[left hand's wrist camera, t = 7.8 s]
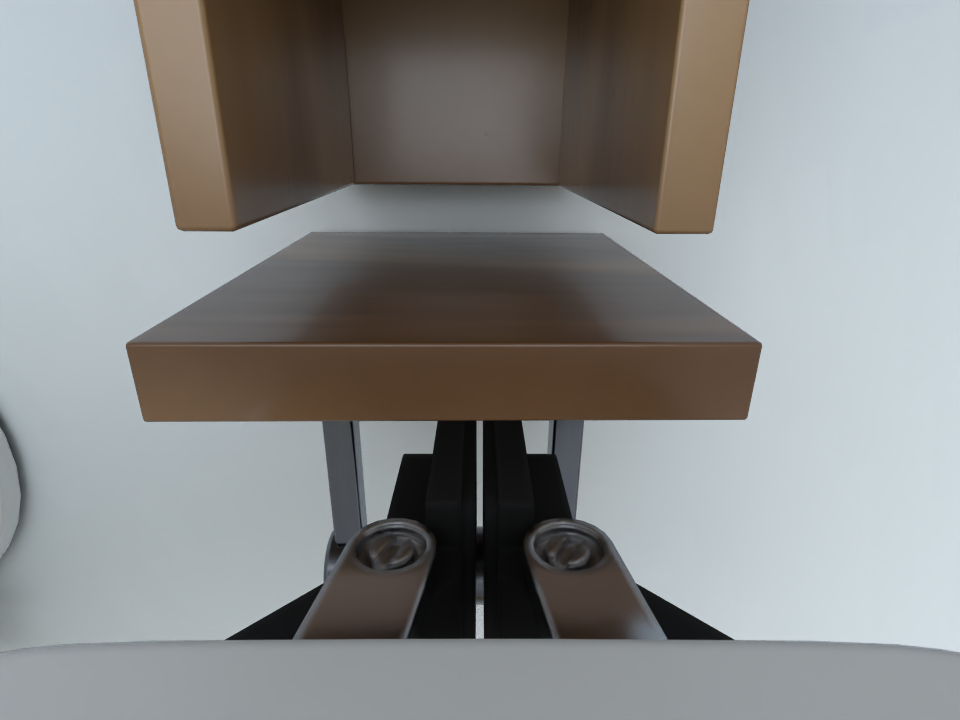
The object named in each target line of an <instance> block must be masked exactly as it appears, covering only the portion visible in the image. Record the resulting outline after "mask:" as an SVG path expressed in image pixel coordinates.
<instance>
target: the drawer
mask: <svg viewBox="0 0 960 720" xmlns="http://www.w3.org/2000/svg"><path fill="white" fill-rule="evenodd" d="M134 5H135V10H136V16H137V21H138V26H139V31H140V37H141V42H142V47H143V53H144V58H145V63H146V69H147V74H148V79H149V85H150V90H151V95H152V101H153V106H154V111H155V116H156V122H157V127H158V132H159V138H160V143H161V148H162V154H163V159H164V164H165V170H166V175H167V180H168V186H169V191H170V196H171V201H172V207H173V212H174V217H175V223H176V226H177V228H178V229H179V230H182V231H236V230H238V229H241V228H243V227H246V226H248V225H251V224H253V223H256V222H258V221H261V220H264V219H266V218H269V217H271V216H274V215H276V214H279V213H281V212H284V211H286V210H289V209H291V208H294V207H296V206H299V205H302V204H304V203H307V202H309V201H312V200H314V199H317V198H319V197H322V196H324V195H327V194H329V193H332V192H335V191H337V190H340V189H342V188H345V187H347V186H350V185H352V184H384V185H531V186H561V187H563V188H565V189H567V190H569V191H571V192H574V193H576V194H578V195H580V196H582V197H584V198H586V199H588V200H590V201H592V202H594V203H596V204H598V205H600V206H602V207H604V208H606V209H608V210H610V211H612V212H614V213H616V214H618V215H620V216H622V217H624V218H626V219H628V220H630V221H632V222H634V223H636V224H638V225H640V226H642V227H644V228H646V229H648V230H650V231H652V232H654V233H656V234H709V233H711V232H712V231H713V226H714V220H715V214H716V207H717V201H718V195H719V188H720V182H721V176H722V169H723V163H724V157H725V151H726V144H727V138H728V132H729V125H730V119H731V113H732V106H733V100H734V94H735V88H736V81H737V75H738V69H739V62H740V56H741V50H742V43H743V37H744V31H745V25H746V18H747V12H748V6H749V0H134ZM761 348H762V344H761V343H760V342H759V341H758V340H756V339H755V338H753V337H752V336H750V335H749V334H747V333H746V332H745V331H743V330H742V329H740V328H739V327H737V326H736V325H734V324H733V323H731V322H730V321H729V320H727V319H726V318H724V317H723V316H721V315H720V314H718V313H717V312H716V311H714V310H713V309H711V308H710V307H708V306H707V305H705V304H704V303H703V302H701V301H700V300H698V299H697V298H695V297H694V296H692V295H691V294H690V293H688V292H687V291H685V290H684V289H682V288H681V287H679V286H678V285H677V284H675V283H674V282H672V281H671V280H669V279H668V278H666V277H665V276H663V275H662V274H661V273H659V272H658V271H656V270H655V269H653V268H652V267H650V266H649V265H648V264H646V263H645V262H643V261H642V260H640V259H639V258H637V257H636V256H635V255H633V254H632V253H630V252H629V251H627V250H626V249H624V248H623V247H622V246H620V245H619V244H617V243H616V242H614V241H613V240H611V239H610V238H608V237H607V236H606V235H604V234H598V233H388V232H311V233H309V234H308V235H306V236H304V237H303V238H301V239H299V240H298V241H296V242H294V243H293V244H291V245H289V246H288V247H286V248H284V249H283V250H281V251H279V252H278V253H276V254H274V255H273V256H271V257H269V258H268V259H266V260H264V261H263V262H261V263H259V264H258V265H256V266H254V267H253V268H251V269H249V270H248V271H246V272H244V273H243V274H241V275H239V276H238V277H236V278H234V279H233V280H231V281H229V282H228V283H226V284H224V285H223V286H221V287H219V288H218V289H216V290H214V291H213V292H211V293H209V294H208V295H206V296H204V297H203V298H201V299H199V300H198V301H196V302H194V303H193V304H191V305H189V306H188V307H186V308H184V309H183V310H181V311H179V312H178V313H176V314H174V315H173V316H171V317H169V318H168V319H166V320H164V321H163V322H161V323H159V324H158V325H156V326H154V327H153V328H151V329H149V330H148V331H146V332H144V333H143V334H141V335H139V336H138V337H136V338H134V339H133V340H131V341H129V342H128V343H127V344H126V349H127V353H128V357H129V361H130V366H131V370H132V374H133V378H134V382H135V387H136V391H137V395H138V399H139V403H140V407H141V412H142V416H143V419H144V421H146V422H192V421H322V423H323V432H324V441H325V451H326V460H327V469H328V479H329V488H330V497H331V506H332V516H333V525H334V530H333V532H332V534H331V536H330V539H329V542H328V545H327V550H326V555H325V563H324V583H325V581H326V579H327V578H328V576H329V574H330V572H331V571H332V569H333V567H334V565H335V564H336V562H337V560H338V558H339V557H340V555H341V553H342V551H343V550H344V548H345V546H346V544H347V543H348V541H349V540H350V539H351V537H352V536H353V535H354V534H355V533H356V532H357V531H359V530H360V529H361V528H363V527H364V526H366V525H367V517H366V505H365V492H364V480H363V468H362V455H361V443H360V430H359V421H500V420H549V436H548V452H547V454H556V456H557V459H558V463H559V467H560V471H561V475H562V479H563V483H564V487H565V491H566V495H567V499H568V503H569V507H570V511H571V514H572V518H573V519H575V520H576V508H577V497H578V485H579V473H580V462H581V450H582V439H583V427H584V420H745V419H746V418H747V416H748V411H749V407H750V402H751V397H752V392H753V387H754V382H755V377H756V373H757V368H758V363H759V358H760V353H761ZM476 605H484V583H483V527H477V532H476Z"/></svg>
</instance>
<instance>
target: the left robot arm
mask: <svg viewBox="0 0 960 720" xmlns="http://www.w3.org/2000/svg"><path fill="white" fill-rule="evenodd" d="M20 500H21V492H20V485H19V479H18V472H17V466H16V463H15V460H14V458H13V455H12V452H11V450H10V447H9V444H8V442H7V439H6V436H5V434H4V433H3V431H2V429H1V428H0V558H1V557H2V555H3V554H4V553H5V551H6V550H7V549H8V547H9V546H10V544H11V541H12V538H13V535H14V533H15V530H16V527H17V525H18V522H19V511H20ZM476 532H477V463H476V421H438V424H437V430H436V436H435V443H434V449H433V454H404V455H403V458H402V461H401V465H400V469H399V473H398V477H397V481H396V485H395V489H394V493H393V497H392V501H391V505H390V509H389V513H388V516H387V519H385V520H379V521H376V522H373V523H371V524H369V525H366V526H364V527H363V528H361V529H360V530H359V531H357V532H356V533H355V534H354V535H353V536H352V537H351V539H350V540H349V541H348V543H347V544H346V546H345V548H344V550H343V551H342V553H341V555H340V557H339V558H338V560H337V562H336V564H335V565H334V567H333V569H332V571H331V572H330V574H329V576H328V578H327V579H326V581H325V583H323V584H322V585H320V586H318V587H316V588H315V589H313V590H311V591H309V592H308V593H306V594H304V595H302V596H301V597H299V598H297V599H295V600H294V601H292V602H290V603H288V604H287V605H285V606H283V607H281V608H280V609H278V610H276V611H275V612H273V613H271V614H269V615H268V616H266V617H264V618H262V619H261V620H259V621H257V622H255V623H254V624H252V625H250V626H248V627H247V628H245V629H243V630H241V631H240V632H238V633H236V634H234V635H233V636H231V637H229V638H227V639H226V640H200V641H136V642H109V643H82V644H62V645H53V646H43V647H33V648H23V649H17V650H11V651H6V652H1V653H0V720H960V653H959V652H954V651H949V650H943V649H937V648H927V647H917V646H907V645H898V644H878V643H851V642H825V641H762V640H734V639H732V638H730V637H729V636H727V635H725V634H723V633H722V632H720V631H718V630H716V629H715V628H713V627H711V626H709V625H708V624H706V623H704V622H702V621H701V620H699V619H697V618H695V617H694V616H692V615H690V614H688V613H687V612H685V611H683V610H682V609H680V608H678V607H676V606H675V605H673V604H671V603H669V602H668V601H666V600H664V599H662V598H661V597H659V596H657V595H655V594H654V593H652V592H650V591H648V590H647V589H645V588H643V587H641V586H640V585H638V584H636V583H635V581H634V579H633V578H632V576H631V574H630V572H629V571H628V569H627V567H626V565H625V564H624V562H623V560H622V558H621V557H620V555H619V553H618V551H617V550H616V548H615V546H614V544H613V543H612V541H611V540H610V539H609V537H608V536H607V535H606V534H605V533H604V532H603V531H601V530H600V529H599V528H597V527H596V526H594V525H591V524H589V523H587V522H584V521H581V520H575V519H573V518H572V514H571V511H570V507H569V503H568V499H567V495H566V491H565V487H564V483H563V479H562V475H561V471H560V467H559V463H558V459H557V456H556V454H527V453H526V446H525V440H524V434H523V427H522V421H521V420H500V421H483V583H484V639H475V638H476Z"/></svg>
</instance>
